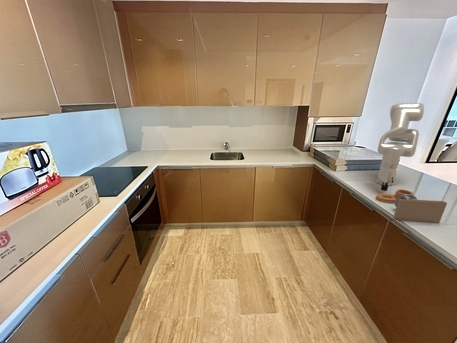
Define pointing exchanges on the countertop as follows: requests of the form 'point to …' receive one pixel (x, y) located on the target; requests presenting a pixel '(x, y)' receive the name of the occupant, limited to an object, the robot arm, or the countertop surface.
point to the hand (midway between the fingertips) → (383, 190)
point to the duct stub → (418, 209)
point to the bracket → (392, 196)
